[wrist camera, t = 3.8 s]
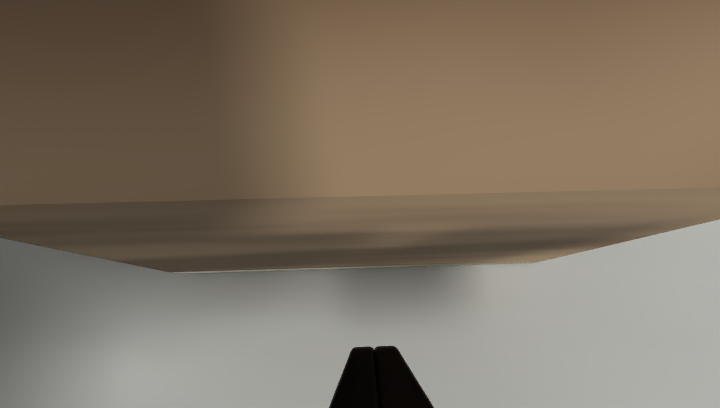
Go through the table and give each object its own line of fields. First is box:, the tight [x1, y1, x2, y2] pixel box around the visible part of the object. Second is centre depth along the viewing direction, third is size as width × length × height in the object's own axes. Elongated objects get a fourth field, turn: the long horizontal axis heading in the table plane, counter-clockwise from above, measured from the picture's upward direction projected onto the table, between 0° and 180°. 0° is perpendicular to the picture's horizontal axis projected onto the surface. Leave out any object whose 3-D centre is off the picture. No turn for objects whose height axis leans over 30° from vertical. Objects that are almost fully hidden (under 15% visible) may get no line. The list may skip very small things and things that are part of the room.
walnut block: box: [0, 0, 720, 274], centre depth 12 cm, size 4×12×11 cm, turn 92°
